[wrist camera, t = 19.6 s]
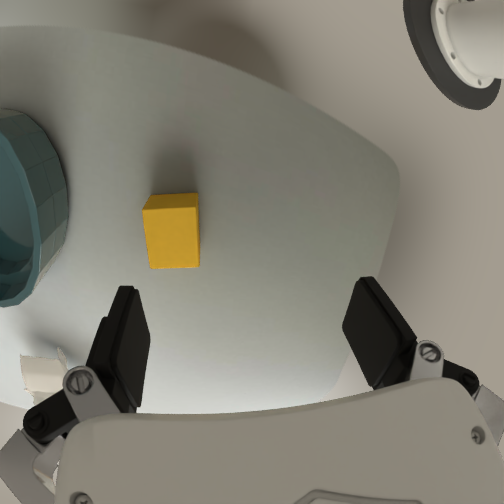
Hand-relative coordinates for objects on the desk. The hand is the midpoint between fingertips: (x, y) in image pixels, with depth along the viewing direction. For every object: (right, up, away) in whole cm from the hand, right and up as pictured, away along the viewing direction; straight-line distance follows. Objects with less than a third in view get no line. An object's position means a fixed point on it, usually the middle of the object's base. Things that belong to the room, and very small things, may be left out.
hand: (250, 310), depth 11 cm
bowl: (-24, +8, +7) cm, 27 cm away
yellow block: (-6, +5, +12) cm, 14 cm away
